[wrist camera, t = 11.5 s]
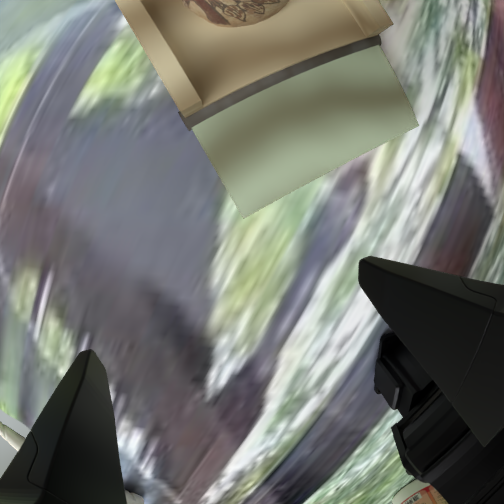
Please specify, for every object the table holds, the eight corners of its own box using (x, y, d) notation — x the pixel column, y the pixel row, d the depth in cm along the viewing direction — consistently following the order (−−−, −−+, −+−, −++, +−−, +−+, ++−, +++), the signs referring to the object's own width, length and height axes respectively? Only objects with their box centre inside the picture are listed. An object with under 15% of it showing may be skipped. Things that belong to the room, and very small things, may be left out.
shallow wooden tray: (412, 125, 20) (445, 122, 16) (239, 216, 20) (243, 229, 17) (272, -82, 14) (281, -110, 10) (103, -17, 14) (86, -42, 11)
